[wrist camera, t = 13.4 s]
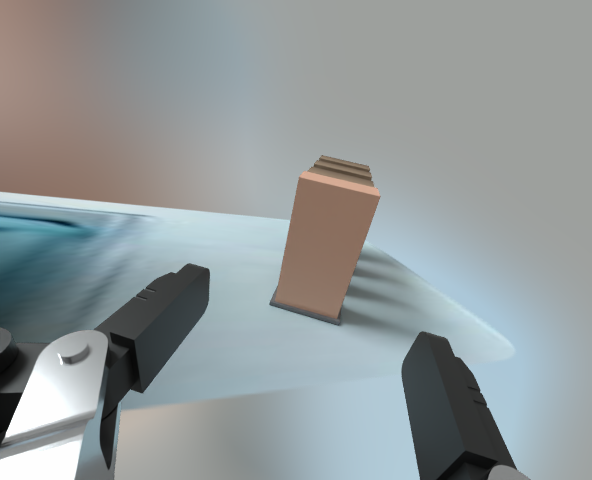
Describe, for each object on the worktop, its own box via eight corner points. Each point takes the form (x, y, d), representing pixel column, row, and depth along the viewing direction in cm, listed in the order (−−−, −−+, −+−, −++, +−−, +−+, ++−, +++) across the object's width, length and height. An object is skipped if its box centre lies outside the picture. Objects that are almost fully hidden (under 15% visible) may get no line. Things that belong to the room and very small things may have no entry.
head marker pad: (338, 325, 20) (339, 322, 19) (269, 304, 20) (270, 301, 20) (340, 303, 22) (341, 300, 22) (278, 285, 22) (278, 282, 22)
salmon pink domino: (336, 319, 20) (380, 196, 15) (274, 301, 20) (299, 177, 16) (338, 302, 22) (377, 188, 17) (280, 286, 22) (304, 170, 17)
